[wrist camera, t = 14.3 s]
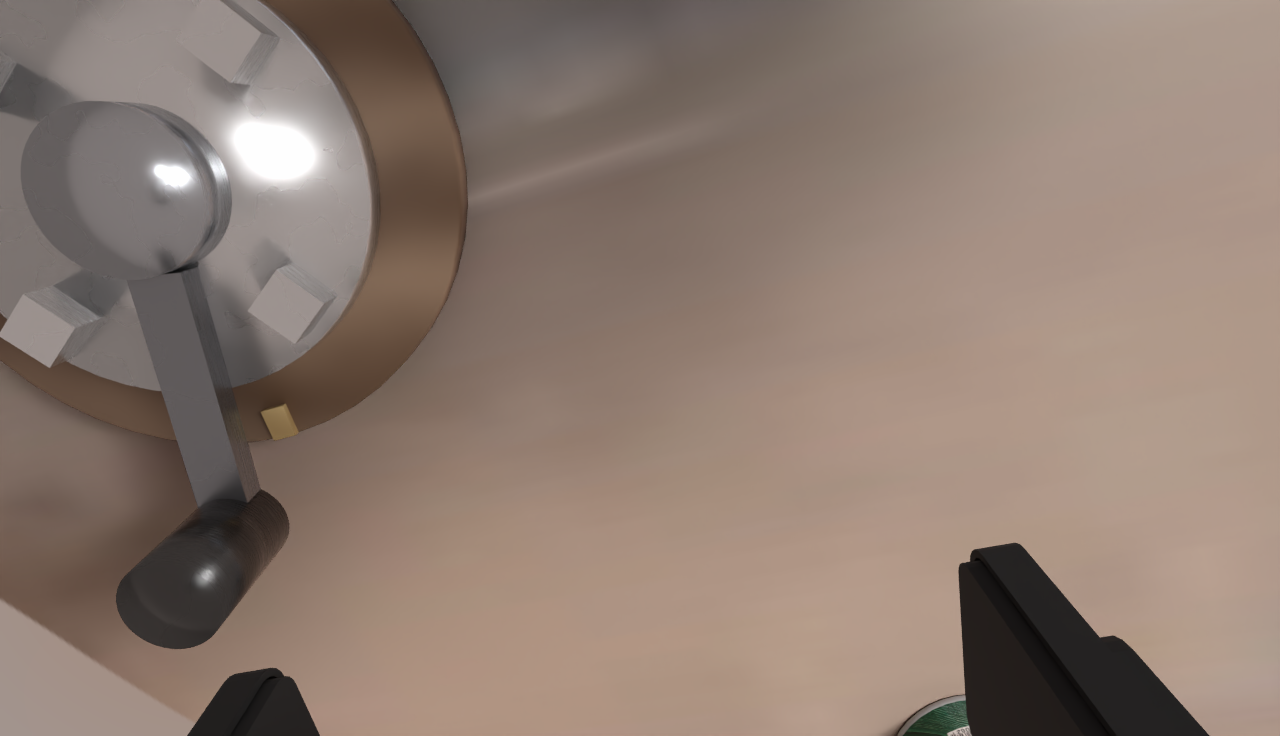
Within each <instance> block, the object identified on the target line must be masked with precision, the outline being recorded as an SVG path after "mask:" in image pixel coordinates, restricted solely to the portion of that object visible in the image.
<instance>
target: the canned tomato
mask: <svg viewBox="0 0 1280 736" xmlns="http://www.w3.org/2000/svg"><path fill="white" fill-rule="evenodd" d="M897 736H972V734H971V731H970V728H969V724H968V720H967V713H966V696H965V695H961V696H954V697H950V698H946V699H942V700H940V701H938V702H935V703H933V704H931V705H929V706H927V707H925V708H924V709H922V710H921V711H919V712H917V713H916V714H915V715H914V716H913V717H912V718H911V719H909V720H908V721H907V723H906V724H905V725H904V726H903V727H902V729H901V730H900V731H899V733H898V735H897Z"/></svg>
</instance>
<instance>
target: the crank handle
mask: <svg viewBox="0 0 1280 736" xmlns="http://www.w3.org/2000/svg"><path fill="white" fill-rule="evenodd" d="M379 228H380V187H379V179H378V172H377V165H376V161H375V157H374V153H373V150H372V146H371V142H370V138H369V136H368V133H367V131H366V128H365V125H364V123H363V120H362V118H361V115H360V113H359V110H358V108H357V107H356V105H355V103H354V101H353V99H352V97H351V95H350V94H349V92H348V90H347V88H346V86H345V84H344V83H343V81H342V80H341V78H340V77H339V75H338V74H337V73H336V71H335V70H334V68H333V67H332V65H331V64H330V63H329V61H328V60H327V58H326V57H325V56H324V55H323V54H322V52H321V51H320V50H319V49H318V48H317V47H316V46H315V44H314V43H313V42H312V41H311V40H310V39H309V38H308V36H307V35H306V34H305V33H304V32H303V31H302V30H300V29H299V28H298V27H297V26H296V25H295V24H294V23H293V22H292V21H290V20H289V19H288V18H287V17H286V16H285V15H284V14H283V13H282V12H280V11H279V10H278V9H276V8H275V7H273V6H272V5H271V4H269V3H268V2H266V1H265V0H0V313H1V314H2V315H3V316H4V317H5V318H6V319H7V322H6V323H5V325H4V327H3V328H2V330H1V332H0V337H1V338H3V339H4V340H6V341H8V342H9V343H11V344H12V345H14V346H15V347H17V348H19V349H20V350H22V351H23V352H25V353H27V354H28V355H30V356H31V357H33V358H34V359H36V360H38V361H39V362H41V363H42V364H44V365H46V366H47V367H49V368H51V367H53V366H55V365H58V364H60V363H62V362H65V361H67V362H69V363H71V364H72V365H75V366H77V367H79V368H81V369H84V370H86V371H88V372H91V373H93V374H95V375H97V376H100V377H103V378H106V379H109V380H112V381H116V382H119V383H122V384H125V385H129V386H134V387H139V388H144V389H149V390H154V391H162V395H163V398H164V401H165V404H166V407H167V410H168V414H169V417H170V420H171V423H172V426H173V429H174V433H175V436H176V439H177V442H178V445H179V448H180V452H181V455H182V458H183V461H184V464H185V468H186V471H187V474H188V477H189V480H190V483H191V487H192V490H193V493H194V496H195V499H196V502H197V506H198V509H197V510H195V511H194V512H193V513H192V514H191V515H190V516H189V517H188V518H187V519H186V520H185V521H184V522H183V523H181V524H180V525H179V526H178V527H177V528H176V529H175V530H174V531H173V532H172V533H171V534H170V535H169V536H168V537H166V538H165V539H164V540H163V541H162V542H161V543H160V544H159V545H158V546H157V547H156V548H155V549H154V550H152V551H151V552H150V553H149V554H148V555H147V556H146V557H145V558H144V559H143V560H142V561H141V562H140V563H138V564H137V565H136V566H135V567H134V568H133V569H132V570H131V571H130V572H129V573H128V574H127V575H126V576H125V577H124V578H123V579H122V581H121V582H120V584H119V587H118V589H117V594H116V603H117V608H118V612H119V614H120V616H121V618H122V620H123V621H124V623H125V624H126V625H127V626H128V628H129V629H130V630H131V631H132V632H134V633H135V634H136V635H137V636H139V637H140V638H142V639H143V640H145V641H147V642H149V643H151V644H154V645H157V646H160V647H164V648H170V649H185V648H191V647H194V646H197V645H200V644H202V643H204V642H205V641H207V640H208V639H210V638H211V637H212V636H213V635H214V634H215V633H216V631H217V630H218V629H219V627H220V626H221V625H222V624H223V622H224V621H225V620H226V618H227V617H228V616H229V615H230V613H231V612H232V611H233V609H234V608H235V607H236V606H237V604H238V603H239V602H240V600H241V599H242V598H243V597H244V595H245V594H246V593H247V591H248V590H249V589H250V588H251V586H252V585H253V584H254V582H255V581H256V580H257V579H258V577H259V576H260V575H261V573H262V572H263V571H264V570H265V568H266V567H267V566H268V564H269V563H270V562H271V561H272V559H273V558H274V557H275V555H276V554H277V553H278V552H279V550H280V549H281V548H282V546H283V545H284V543H285V542H286V540H287V538H288V534H289V520H288V517H287V514H286V512H285V510H284V508H283V507H282V505H281V504H280V503H279V502H278V501H277V500H276V499H275V498H274V497H273V496H271V495H270V494H269V493H267V492H265V491H263V490H261V489H260V485H259V482H258V478H257V475H256V471H255V467H254V464H253V460H252V457H251V453H250V450H249V446H248V443H247V439H246V436H245V432H244V429H243V425H242V421H241V418H240V414H239V411H238V407H237V404H236V400H235V397H234V393H233V390H232V388H234V387H237V386H240V385H244V384H247V383H250V382H254V381H257V380H259V379H261V378H264V377H266V376H268V375H270V374H272V373H275V372H277V371H279V370H281V369H282V368H284V367H285V366H287V365H289V364H290V363H292V362H293V361H295V360H296V359H298V358H299V357H301V356H302V355H304V354H305V353H306V352H308V351H309V350H310V349H312V348H313V347H314V346H316V345H317V344H318V343H319V342H320V341H321V340H322V339H324V338H325V337H326V336H327V335H328V334H329V333H330V332H332V331H333V330H334V328H335V327H336V326H337V325H338V324H339V323H340V321H341V320H342V319H343V318H344V317H345V316H346V314H347V313H348V312H349V310H350V309H351V307H352V305H353V304H354V302H355V301H356V299H357V297H358V296H359V294H360V293H361V290H362V288H363V286H364V284H365V281H366V279H367V277H368V274H369V272H370V270H371V266H372V262H373V259H374V255H375V252H376V248H377V243H378V235H379Z"/></svg>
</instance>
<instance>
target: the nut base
mask: <svg viewBox="0 0 1280 736" xmlns="http://www.w3.org/2000/svg"><path fill="white" fill-rule="evenodd" d="M265 1H266V2H268V3H269V4H271V5H272V6H273V7H275V8H276V9H278V10H279V11H280V12H282V13H283V14H284V15H285V16H286V17H287V18H288V19H289V20H290V21H292V22H293V23H294V24H295V25H296V26H297V27H298V28H299V29H300V30H302V31H303V32H304V33H305V34H306V35H307V36H308V38H309V39H310V40H311V41H312V42H313V43H314V44H315V46H316V47H317V48H318V49H319V50H320V51H321V52H322V54H323V55H324V56H325V57H326V58H327V60H328V61H329V63H330V64H331V65H332V67H333V68H334V70H335V71H336V73H337V74H338V75H339V77H340V78H341V80H342V81H343V83H344V84H345V86H346V88H347V90H348V92H349V94H350V95H351V97H352V99H353V101H354V103H355V105H356V107H357V108H358V110H359V113H360V115H361V118H362V120H363V123H364V125H365V128H366V131H367V133H368V136H369V138H370V142H371V146H372V150H373V153H374V157H375V161H376V165H377V172H378V179H379V187H380V228H379V235H378V243H377V248H376V252H375V255H374V259H373V262H372V266H371V270H370V272H369V274H368V277H367V279H366V281H365V284H364V286H363V288H362V290H361V293H360V294H359V296H358V297H357V299H356V301H355V302H354V304H353V305H352V307H351V309H350V310H349V312H348V313H347V314H346V316H345V317H344V318H343V319H342V320H341V321H340V323H339V324H338V325H337V326H336V327H335V328H334V330H333V331H332V332H330V333H329V334H328V335H327V336H326V337H325V338H324V339H322V340H321V341H320V342H319V343H318V344H317V345H316V346H314V347H313V348H312V349H310V350H309V351H308V352H306V353H305V354H304V355H302V356H301V357H299V358H298V359H296V360H295V361H293V362H292V363H290V364H289V365H287V366H285V367H284V368H282V369H281V370H279V371H277V372H275V373H272V374H270V375H268V376H266V377H264V378H261V379H259V380H257V381H254V382H250V383H247V384H244V385H240V386H237V387H234V388H232V390H233V393H234V397H235V400H236V404H237V407H238V411H239V414H240V418H241V421H242V425H243V429H244V432H245V436H246V439H247V442H252V441H261V440H268V439H272V438H273V440H274V441H275V440H279V439H283V438H287V437H290V436H294V435H296V434H297V433H298V432H300V431H303V430H305V429H308V428H310V427H313V426H315V425H318V424H321V423H323V422H326V421H328V420H330V419H332V418H334V417H335V416H337V415H339V414H341V413H343V412H345V411H346V410H348V409H350V408H352V407H354V406H355V405H357V404H358V403H359V402H361V401H362V400H363V399H365V398H366V397H367V396H369V395H370V394H371V393H373V392H374V391H375V390H377V389H378V388H379V387H381V386H382V385H383V384H384V383H385V382H386V381H387V380H388V379H389V378H390V377H391V376H392V375H393V374H394V373H395V372H396V371H397V370H398V369H399V368H400V367H401V366H402V365H403V363H404V362H405V361H406V360H407V359H408V358H409V356H410V355H411V354H412V353H413V352H414V351H415V349H416V348H417V347H418V345H419V344H420V343H421V341H422V340H423V339H424V337H425V336H426V335H427V333H428V332H429V331H430V329H431V328H432V326H433V325H434V323H435V321H436V319H437V317H438V315H439V314H440V312H441V310H442V308H443V306H444V304H445V302H446V301H447V298H448V296H449V293H450V290H451V288H452V285H453V282H454V280H455V277H456V274H457V271H458V268H459V263H460V259H461V254H462V250H463V245H464V241H465V233H466V221H467V209H468V197H467V176H466V166H465V160H464V154H463V149H462V143H461V137H460V133H459V129H458V126H457V123H456V119H455V116H454V113H453V110H452V106H451V103H450V100H449V97H448V95H447V92H446V90H445V88H444V86H443V83H442V81H441V79H440V77H439V74H438V72H437V70H436V68H435V65H434V63H433V61H432V59H431V58H430V56H429V54H428V53H427V51H426V49H425V48H424V46H423V44H422V42H421V41H420V39H419V37H418V36H417V34H416V32H415V31H414V29H413V27H412V26H411V25H410V23H409V22H408V21H407V19H406V18H405V17H404V15H403V14H402V13H401V12H400V10H399V9H398V8H397V6H396V5H395V4H394V2H393V1H392V0H265ZM6 322H7V319H6V318H5V317H4V316H3V315H2V314H1V313H0V332H1V330H2V328H3V327H4V325H5V323H6ZM0 360H1V361H2V362H3V363H5V364H6V365H7V366H9V367H10V368H11V369H13V370H14V371H15V372H17V373H18V374H19V375H21V376H22V377H23V378H25V379H26V380H27V381H29V382H30V383H31V384H33V385H35V386H36V387H38V388H40V389H41V390H43V391H45V392H46V393H48V394H50V395H51V396H53V397H55V398H56V399H58V400H59V401H61V402H63V403H65V404H67V405H69V406H71V407H73V408H75V409H77V410H79V411H82V412H84V413H86V414H88V415H90V416H92V417H94V418H96V419H99V420H102V421H105V422H107V423H110V424H113V425H116V426H119V427H122V428H124V429H127V430H130V431H134V432H138V433H142V434H146V435H151V436H155V437H159V438H163V439H169V440H177V439H176V436H175V433H174V429H173V426H172V423H171V420H170V417H169V414H168V410H167V407H166V404H165V401H164V398H163V395H162V391H154V390H149V389H144V388H139V387H134V386H129V385H125V384H122V383H119V382H116V381H112V380H109V379H106V378H103V377H100V376H97V375H95V374H93V373H91V372H88V371H86V370H84V369H81V368H79V367H77V366H75V365H72V364H71V363H69V362H67V361H65V362H62V363H60V364H58V365H55V366H53V367H51V368H49V367H47V366H46V365H44V364H42V363H41V362H39V361H38V360H36V359H34V358H33V357H31V356H30V355H28V354H27V353H25V352H23V351H22V350H20V349H19V348H17V347H15V346H14V345H12V344H11V343H9V342H8V341H6V340H4V339H3V338H1V337H0Z"/></svg>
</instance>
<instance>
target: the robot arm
mask: <svg viewBox="0 0 1280 736" xmlns="http://www.w3.org/2000/svg"><path fill="white" fill-rule="evenodd" d="M959 589H960V607H961V625H962V642H963V660H964V678H965V696H966V713H967V720H968V724H969V728H970V731H971V734H972V736H1209V735H1208V734H1207V732H1206V731H1205V730H1204V729H1203V728H1202V727H1201V726H1200V725H1199V723H1198V722H1197V721H1196V720H1195V719H1194V718H1193V717H1192V716H1191V714H1190V713H1189V712H1188V711H1187V710H1186V709H1185V708H1184V707H1183V705H1182V704H1181V703H1180V702H1179V701H1178V700H1177V699H1176V698H1175V696H1174V695H1173V694H1172V693H1171V692H1170V691H1169V690H1168V689H1167V687H1166V686H1165V685H1164V684H1163V683H1162V682H1161V681H1160V680H1159V678H1158V677H1157V676H1156V675H1155V674H1154V673H1153V672H1152V671H1151V669H1150V668H1149V667H1148V666H1147V665H1146V664H1145V663H1144V662H1143V660H1142V659H1141V658H1140V657H1139V656H1138V655H1137V654H1136V652H1135V651H1134V650H1133V649H1132V648H1131V647H1130V646H1129V645H1127V644H1126V643H1125V642H1124V641H1123V640H1122V639H1120V638H1117V637H1115V636H1108V637H1101V638H1100V637H1099V636H1098V635H1097V634H1096V633H1095V631H1094V630H1093V629H1092V628H1091V627H1090V626H1089V624H1088V623H1087V622H1086V621H1085V620H1084V618H1083V617H1082V616H1081V615H1080V614H1079V613H1078V611H1077V610H1076V609H1075V608H1074V607H1073V605H1072V604H1071V603H1070V602H1069V601H1068V600H1067V598H1066V597H1065V596H1064V595H1063V594H1062V593H1061V591H1060V590H1059V589H1058V588H1057V587H1056V585H1055V584H1054V583H1053V582H1052V581H1051V580H1050V578H1049V577H1048V576H1047V575H1046V574H1045V572H1044V571H1043V570H1042V569H1041V568H1040V567H1039V565H1038V564H1037V563H1036V562H1035V561H1034V559H1033V558H1032V557H1031V556H1030V555H1029V554H1028V552H1027V551H1026V550H1025V549H1024V548H1023V547H1022V546H1021V545H1020V544H1018V543H1011V544H1005V545H999V546H993V547H987V548H981V549H975V550H973V551H972V553H971V556H970V562H966V563H961V564H960V565H959ZM187 736H320V735H319V733H318V731H317V728H316V726H315V724H314V722H313V720H312V718H311V715H310V713H309V711H308V709H307V707H306V705H305V703H304V700H303V698H302V696H301V694H300V692H299V690H298V687H297V685H296V683H295V682H294V680H293V679H292V678H290V677H287V676H285V677H284V675H283V674H282V672H281V671H279V670H278V669H277V668H268V669H262V670H256V671H250V672H244V673H238V674H234V675H232V676H230V677H229V678H228V679H227V680H226V681H225V682H224V683H223V685H222V686H221V688H220V689H219V691H218V692H217V693H216V695H215V696H214V698H213V699H212V701H211V702H210V704H209V705H208V706H207V708H206V709H205V711H204V712H203V714H202V715H201V717H200V718H199V719H198V721H197V722H196V724H195V725H194V727H193V728H192V730H191V731H190V733H189V734H188V735H187Z"/></svg>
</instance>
